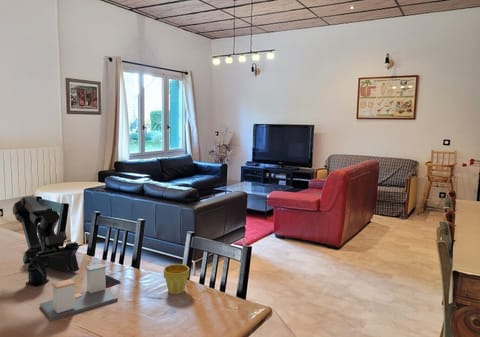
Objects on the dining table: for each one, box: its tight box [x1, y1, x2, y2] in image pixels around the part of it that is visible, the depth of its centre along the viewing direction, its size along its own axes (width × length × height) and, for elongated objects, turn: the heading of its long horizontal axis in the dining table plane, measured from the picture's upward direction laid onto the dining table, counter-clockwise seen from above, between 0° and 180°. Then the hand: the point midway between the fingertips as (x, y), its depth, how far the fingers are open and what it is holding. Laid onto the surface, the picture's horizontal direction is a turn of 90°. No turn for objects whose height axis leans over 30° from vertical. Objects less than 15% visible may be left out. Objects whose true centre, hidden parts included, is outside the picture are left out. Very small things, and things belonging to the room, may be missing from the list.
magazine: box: [27, 248, 80, 273], centre depth 175 cm, size 17×3×30 cm
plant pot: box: [163, 263, 190, 295], centre depth 155 cm, size 10×10×10 cm
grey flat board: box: [39, 288, 119, 321], centre depth 142 cm, size 13×24×2 cm, turn 133°
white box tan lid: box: [51, 278, 76, 313], centre depth 134 cm, size 4×6×10 cm
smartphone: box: [105, 274, 121, 289], centre depth 164 cm, size 7×1×15 cm
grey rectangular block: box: [85, 263, 107, 293], centre depth 150 cm, size 4×6×10 cm
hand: (57, 272), depth 140 cm, fingers open, 8 cm apart
